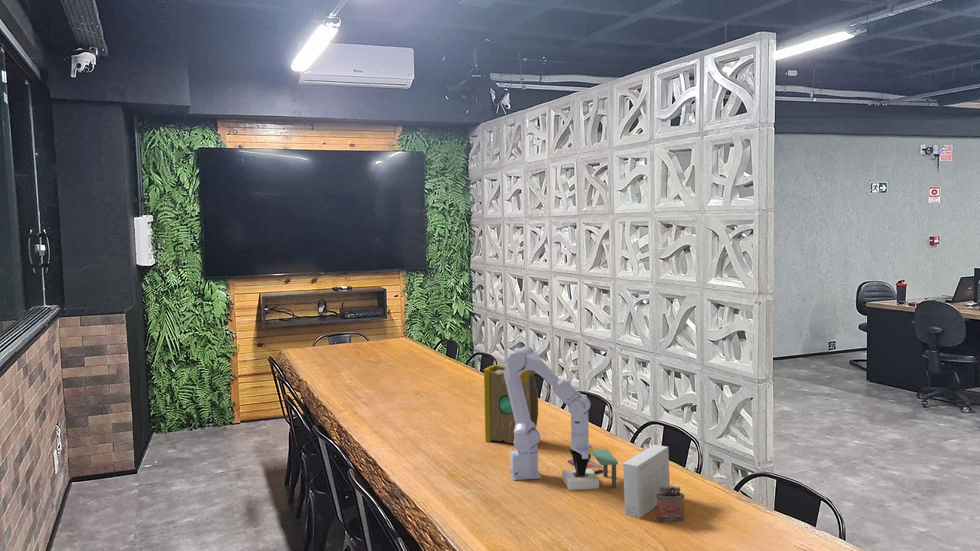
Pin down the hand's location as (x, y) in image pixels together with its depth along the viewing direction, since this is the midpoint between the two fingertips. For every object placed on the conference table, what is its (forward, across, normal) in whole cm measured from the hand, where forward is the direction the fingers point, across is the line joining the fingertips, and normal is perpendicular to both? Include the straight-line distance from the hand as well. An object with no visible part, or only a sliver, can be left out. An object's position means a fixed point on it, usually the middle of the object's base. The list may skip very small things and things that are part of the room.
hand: (580, 472), depth 227 cm
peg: (+2, 0, 0) cm, 2 cm away
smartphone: (+4, +15, -6) cm, 17 cm away
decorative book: (+4, +48, +16) cm, 51 cm away
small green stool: (+4, 0, -8) cm, 9 cm away
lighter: (+4, -31, -19) cm, 37 cm away
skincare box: (+4, -20, -16) cm, 26 cm away
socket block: (+4, 0, 0) cm, 4 cm away
